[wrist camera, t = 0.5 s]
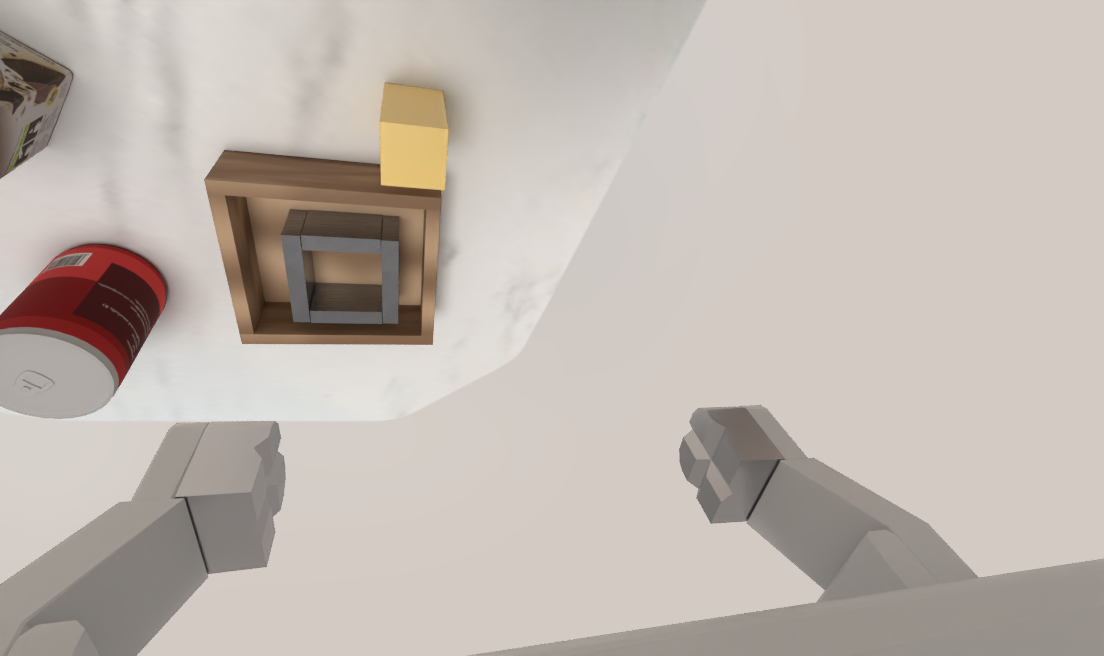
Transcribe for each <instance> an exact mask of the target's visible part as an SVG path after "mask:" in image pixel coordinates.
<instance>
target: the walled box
mask: <svg viewBox="0 0 1104 656" xmlns="http://www.w3.org/2000/svg"><path fill="white" fill-rule="evenodd" d="M204 181H205V185H206V189H207V194H208V198H209V202H210V207H211V211H212V215H213V220H214V224H215V228H216V233H217V237H218V241H219V246H220V250H221V254H222V259H223V263H224V267H225V272H226V276H227V280H228V285H229V289H230V293H231V298H232V302H233V306H234V311H235V315H236V319H237V324H238V328H239V333H240V337H241V341H242V344H405V345H433V330H434V313H435V296H436V278H437V261H438V244H439V227H440V210H441V191H440V190H434V189H422V188H410V187H398V186H386V185H381V165H380V164H369V163H358V162H347V161H336V160H326V159H315V158H304V157H293V156H282V155H271V154H260V153H250V152H239V151H228V150H224V152H223V153H222V155H221V156H220V158H219V159H218V160H217V162H216V163H215V165H214V166H213V168H212V169H211V171H210V172H209V174H208V175H207V176H206V178H205V179H204ZM290 209H297V210H323V211H337V212H352V213H367V214H382V216H383V215H386V216H399V310H398V324H390V323H383V315H382V324H350V323H311V322H293V315H292V308H291V301H290V295H289V288H288V281H287V274H286V268H285V261H284V254H283V247H282V241H281V233H282V230H283V227H284V224H285V222H286V219H287V216H288V213H289V211H290ZM312 255H313V264H314V273H315V282H318V283H348V284H378V285H382V250H381V254H371V253H350V252H329V251H312Z"/></svg>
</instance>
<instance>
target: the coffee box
mask: <svg viewBox="0 0 1104 656" xmlns="http://www.w3.org/2000/svg"><path fill="white" fill-rule="evenodd" d="M72 77H73V75H72V73H71V72H70V71H69V70H68V69H66V68H64V67H62V66H61V65H59V64H57V63H55V62H54V61H52V60H50V59H48V58H46V57H45V56H43V55H41V54H39V53H37V52H36V51H34V50H32V49H30V48H28V47H27V46H25V45H23V44H21V43H19V42H18V41H16V40H14V39H12V38H11V37H9V36H7V35H5V34H3V33H2V32H0V179H1V178H2V177H4V176H5V175H7V174H8V173H10V172H11V171H13V170H14V169H15V168H17V167H18V166H19V165H21V164H22V163H24V162H25V161H27V160H28V159H30V158H31V157H33V156H34V155H35V154H37V153H38V152H40V151H41V150H43V149H44V148H45V147H46V146H47V143H48V141H49V138H50V136H51V134H52V131H53V128H54V126H55V123H56V121H57V118H58V116H59V113H60V111H61V108H62V106H63V103H64V100H65V98H66V95H67V92H68V90H69V87H70V84H71V81H72Z"/></svg>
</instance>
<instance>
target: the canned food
mask: <svg viewBox="0 0 1104 656" xmlns="http://www.w3.org/2000/svg"><path fill="white" fill-rule="evenodd" d="M165 303H166V286H165V284H164V281H163V279H162V277H161V275H160V274H159V272H158V271H157V270H156V269H155V268H154V267H153V266H152V265H151V264H150V263H148V262H147V261H146V260H145V259H143V258H141V257H140V256H138V255H136V254H134V253H132V252H129V251H127V250H124V249H121V248H117V247H114V246H107V245H85V246H79V247H77V248H74V249H71V250H69V251H66V252H64V253H62V254H60V255H59V256H57V257H55V258H54V259H53V260H52V262H51V263H50V264H49V265H48V266H47V267H46V268H45V269H44V270H43V271H42V272H41V273H40V274H39V275H38V276H37V277H36V278H35V279H34V280H33V281H32V282H31V283H30V285H29V286H28V287H27V288H26V289H25V290H24V291H23V292H22V293H21V294H20V295H19V296H18V297H17V298H16V299H15V300H14V301H13V302H12V303H11V304H10V305H9V306H8V308H7V309H6V310H5V311H4V312H3V313H2V314H1V315H0V406H2V407H4V408H6V409H9V410H12V411H15V412H17V413H21V414H25V415H29V416H35V417H42V418H55V419H62V418H74V417H79V416H84V415H87V414H90V413H93V412H95V411H97V410H99V409H101V408H102V407H104V406H105V405H106V404H107V403H108V402H109V401H110V399H111V398H112V397H113V396H114V394H115V393H116V391H117V389H118V387H119V386H120V385H121V383H122V381H123V379H124V378H125V376H126V374H127V372H128V371H129V369H130V367H131V365H132V364H133V362H134V360H135V358H136V356H137V355H138V353H139V351H140V349H141V348H142V346H143V344H144V342H145V341H146V339H147V337H148V335H149V333H150V332H151V330H152V328H153V326H154V325H155V323H156V321H157V319H158V318H159V316H160V314H161V312H162V310H163V309H164V307H165Z"/></svg>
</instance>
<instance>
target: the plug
mask: <svg viewBox="0 0 1104 656" xmlns="http://www.w3.org/2000/svg"><path fill="white" fill-rule="evenodd" d="M448 131H449V129H448V122H447V116H446V110H445V103H444V97H443V91H442V90H435V89H427V88H420V87H412V86H405V85H397V84H389V83H385V84H384V92H383V100H382V108H381V117H380V160H381V185H386V186H398V187H410V188H422V189H434V190H445V179H446V163H447V147H448Z"/></svg>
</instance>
